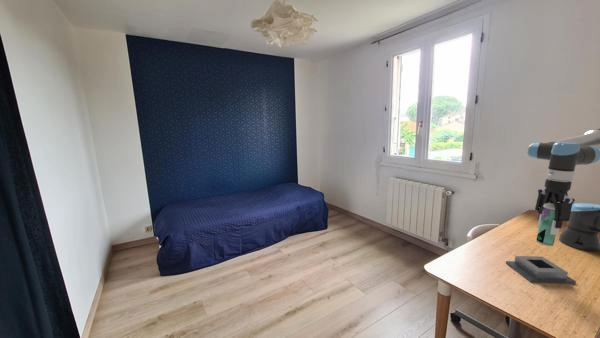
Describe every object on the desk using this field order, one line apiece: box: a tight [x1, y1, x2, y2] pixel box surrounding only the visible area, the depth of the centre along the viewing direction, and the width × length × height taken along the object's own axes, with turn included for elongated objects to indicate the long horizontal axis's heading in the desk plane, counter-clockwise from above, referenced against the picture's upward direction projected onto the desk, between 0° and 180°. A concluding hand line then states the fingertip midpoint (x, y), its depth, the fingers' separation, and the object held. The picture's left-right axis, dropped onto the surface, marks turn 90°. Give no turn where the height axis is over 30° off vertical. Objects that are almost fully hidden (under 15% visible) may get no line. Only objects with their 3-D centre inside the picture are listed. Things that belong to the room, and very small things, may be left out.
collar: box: [505, 255, 577, 285], centre depth 110 cm, size 18×14×4 cm
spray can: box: [535, 200, 557, 247], centre depth 105 cm, size 6×6×20 cm
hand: (547, 230), depth 106 cm, fingers closed on spray can, 5 cm apart
